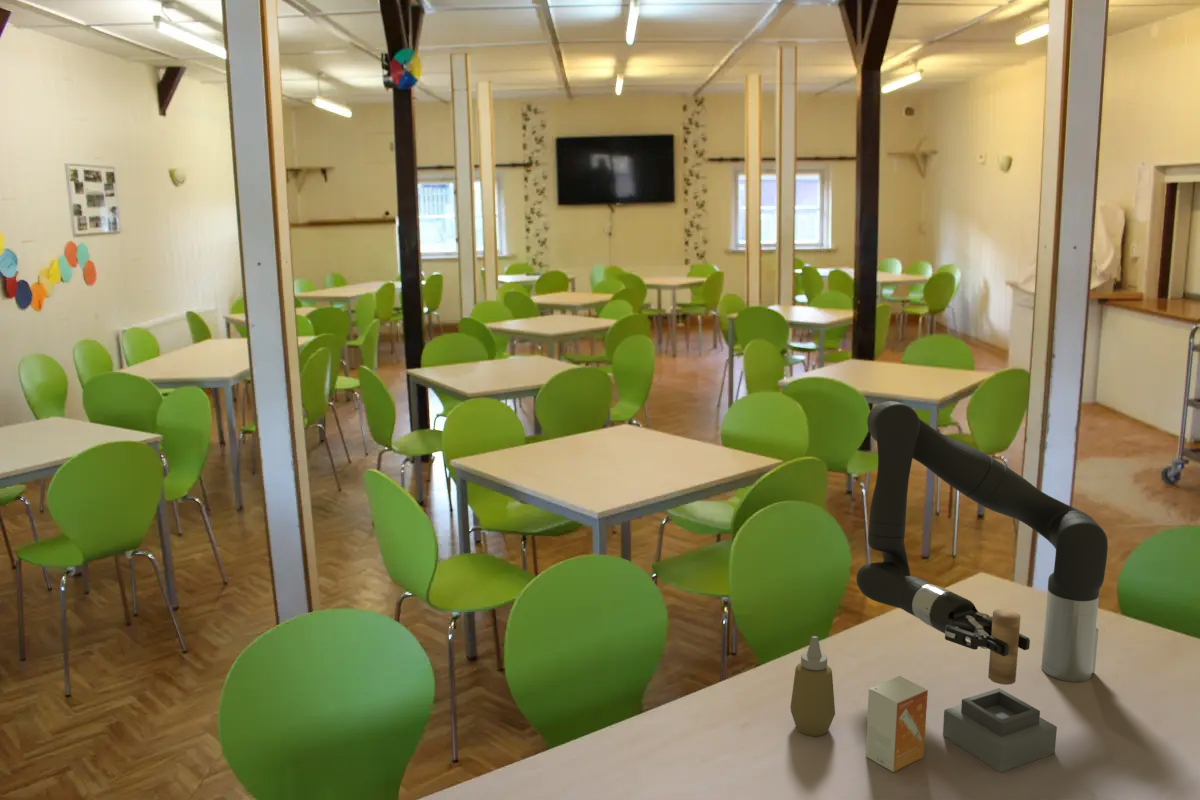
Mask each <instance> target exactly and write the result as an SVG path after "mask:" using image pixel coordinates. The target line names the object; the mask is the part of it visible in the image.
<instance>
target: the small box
mask: <svg viewBox="0 0 1200 800" xmlns="http://www.w3.org/2000/svg"><path fill="white" fill-rule="evenodd" d="M928 692H929V691H928V689H926V687H923V686H921V685H919V684H916V683H915V682H913V681H911V680H909V679H907V678H905V677H903V676H901V675H898V676H896V677H893V678H890V679H889V680H885V681H882V682H881V683H879V684H877V685H876V684H875V685H874V686H872V687H869V688H868V697H867V698H868V702H867V720H866V721H867V722H866V723H867V724H866V740H865V741H866V743H865V745H866V746H865V756H866V758H868V759H870V760H871V761H873V762H875V763H877V764H879V765H880V766H882V767H884V768H885V769H887V770H889V771H891V772H892V773H895V772H897V771H899V770H900V769H903V768H905V767H907V766H909V765H911V764H912V763H914V762H917V761H919V760H921V759H923V758H924V756H925V755H924V754H925V753H924V752H925V741H926V740H925V739H926V738H925V737H926V725H927V724H926V723H927V707H928Z"/></svg>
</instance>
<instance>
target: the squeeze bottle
mask: <svg viewBox="0 0 1200 800" xmlns="http://www.w3.org/2000/svg"><path fill="white" fill-rule="evenodd" d="M800 656H801V657H800V663H798V664H797V665H796V666H795V668H794V669H795V670H794V678H793V683H792V684H793V686H792V692H791V693H792V694H791V698H790V699H791V700H790V712H791V715H792V718H793V721H794V725H795V728H796V729H797V731H798V732H800V733H802V734H803V735H805V736H811V737H818V736H819V737H820V736H823V735H826V734H827V733H828V731H829V730H830V727H831V726H832V725H831V724H832V723H833V720H834V717H835V716H836V706H835V694H834V693H835V691H834V679H833V669H832V668H831V667H830V666H829V665H828V656H827V654H825V653H824V652H822V651H821V646H820V641H819V637H818V636H816V635H815V636H814V635H812V636H811V638H810V641H809V646H808V649H807V651H803V652H802V653H801V655H800Z"/></svg>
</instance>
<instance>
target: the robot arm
mask: <svg viewBox="0 0 1200 800" xmlns="http://www.w3.org/2000/svg"><path fill="white" fill-rule="evenodd" d="M866 420H867V421H866V424H867V430H868V432H869V434H870V436H871V437H872V438H873V440H874V441H876V444H877V445H876V447H877V474H876V479H875V480H876V481H875V485H874V490H873V493H872V497H871V502H870V509H869V519H868V520H869V521H868V530H867V531H868V533H867V534H868V536H867V541H868V542H867V543H868V546H869V547H870V548H871V549H873V550H875V551H878V552H881V555H882V559H883V561H880V562H879V561H878V562H868V563H866V564H863V565H862V566H861V567H860V568H859V570H857V573H856V584H857V587H858V589H859V591H861V593H862V594H863V595H864V596H865V597H867V598H868V599H870V600H872V601H875V602H877V603H880V604H883V605H887V606H889V607H893V608H898V609H901V610H903V611H905V612H906V613H908V614H910V615H912V616H913V617H916V618H917V619H919V620H920V621H921V622H923V623H925V624H926V625H927V626H929V627H932V628H933V629H935V630H937V631H938V632H941V633H942V634H944V640H946V641H948V642H951V643H954V644H957V645H959V646H962V647H965V648H968V649H971V650H978V647H979V648H980V649H983V650H987V649H988V650H989V651H990V650H992V651H994V652H996V653H998V654H1000V655H1002V656H1007V655H1008V650H1009V646H1008V644H1007V643H1005V642H1003V641H1001V640H999V639H997V638H995V637H993V636H991V633H992V619H993V615H992V616H990V615H989V614H987V613H983V612H979V611H978V609H977V607H976V606H975V604H974V603H973V601H971V600H969V599H968V598H965V597H963V596H961V595H959V594H957V593H955V592H952V591H951V590H949V589H947V588H944V587H942V586H940V585H939V586H938V585H935V584H933V583H931V582H929V581H927V580H925V579H922V578H920V577H917V576H914V575H913V576H912V575H911V571H910V565H909V560H908V555H907V551H906V546H905V535H906V533H905V532H906V521H907V508H908V507H907V506H908V505H907V504H908V502H907V501H908V492H909V490H908V489H909V480H910V472H911V468H912V463H913V460H914V461H917V462H919V463H920V464H921V465H923V466H924V467H926V468H927V469H928V470H929V471H931V472H932V473H933V474H934V475H936V476H937V477H938V478H940V479H941V480H942V481H943V482H945V483H946V484H947V485H949V486H950V487H952V488H953V489H954V490H956V491H957V492H958V493H960V494H962V495H964V496H966V497H967V498H969V499H970V500H972V501H973V502H975V503H977V504H979V505H980V506H982V507H984V508H986V509H988V510H990V511H993V512H996V513H999V514H1001V515H1003V516H1006V517H1010V518H1013V519H1015V520H1017V521H1019V522H1021V523H1023V524H1025V525H1026V526H1028V527H1030V528H1031V529H1032V530H1034V531H1035V532H1037V533H1038V534H1039V535H1041V536H1042V537H1044V539H1046V540H1047V541H1048V542H1049V543H1050V544H1051V545H1052V546H1053V547H1054V549H1055V558H1054V567H1053V573H1050V575H1048V582H1047V594H1046V606H1045V620H1044V631H1043V643H1042V644H1043V645H1042V653H1041V654H1042V657H1041V670H1042V671H1043V672H1044V673H1045V674H1046V675H1048V676H1050V677H1053V678H1056V679H1058V680H1062V681H1066V682H1071V683H1072V682H1075V683H1077V682H1079V683H1080V682H1085V681H1089V680H1090V679H1091V678H1092V675H1093V674H1094V673H1095V672H1096V661H1097V650H1098V640H1099V628H1097V621H1098V610H1099V600H1100V599H1099V597H1100V589H1101V588H1102V587H1103V584H1104V579H1105V575H1106V569H1107V568H1106V567H1107V566H1106V565H1107V560H1108V559H1107V558H1108V551H1109V550H1108V549H1109V547H1108V546H1109V544H1108V543H1109V541H1108V537H1107V534H1106V532H1105V531H1104V529H1103V528H1102V527H1101V526H1100V524H1099V523H1097V521H1096V520H1094V518H1092V516H1090V515H1089V514H1087V513H1085V512H1084V511H1082V510H1080V509H1078V508H1076V507H1073V506H1071V505H1069V504H1067V503H1064V502H1062V501H1060V500H1059V499H1056V498H1054V497H1052V496H1051V495H1048V494H1047V493H1045V492H1044V491H1041V490H1040V489H1038V488H1037V487H1036V486H1034V485H1033V484H1032V483H1031V482H1030V481H1028V480H1027V479H1026V478H1024V477H1023V476H1022V475H1020V474H1019V473H1017V472H1015V471H1014V470H1012V469H1011V468H1010V467H1008V466H1007V465H1005V464H1003V463H1002V462H1000V461H998V460H997V459H995V458H993V457H992V456H991V455H988V454H986V453H985V452H983V451H981V450H979V449H978V448H975V447H972V446H971V445H969V444H966V443H964V442H962V441H960V440H958V439H954V438H953V437H949V436H948V435H946V434H943V433H941V432H939V431H938V430H936V429H935V428H933V427H932V426H930V425H929V424H928V423H926V422H925V421H923V420H922V419H921V418H920V417H919V415H918V413H917V412H916V410H915V409H914V408H913V407H912V406H910V405H908V404H906V403H902V402H899V401H893V400H889V401H888V400H887V401H883V402H881V403H879V404H877V405H875V406H874V407H873V408H872V409H870V411H869V413H868V415H867V419H866ZM967 640H968V641H967ZM1030 643H1031V639H1030V638H1029V637H1027V636H1026V635H1024V634H1022V633H1020V632H1019V643H1018V649H1021V650H1023V651H1028V650H1030Z"/></svg>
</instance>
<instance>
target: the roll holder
mask: <svg viewBox="0 0 1200 800" xmlns="http://www.w3.org/2000/svg"><path fill="white" fill-rule="evenodd" d="M943 712H944V713H943V723H942V724H943V725H942V726H943V727H942V729H943V730H942V736H943V737H945V738H947V740H950V741H951V742H953V743H954V744H956V745H957V746H959V747H960V748H961V749H963V750H965V751H966V752H968V753H969V754H971V755H973V756H974V757H976V758H977V759H978V760H980V761H982V762H984V763H985V764H986V765H988V766H989V767H991V768H992V769H994V770H996V771H997V772H998V773H1003V772H1005V771H1008V770H1012V769H1014V768H1017V767H1020V766H1023V765H1025V764H1027V763H1030V762H1033V761H1036V760H1039V759H1042V758H1044V757H1048V756H1050V755H1053V754H1055V753H1056V743H1057V732H1058V727H1057V726H1056V725H1054V723H1051V722H1049V721H1047V720H1046V719H1044V718H1042V717H1041V710H1039V709H1037V708H1036V707H1034V706H1032V705H1031V704H1029V703H1027V702H1025V701H1023V700H1022V699H1020V698H1018V697H1016V696H1014V695H1012V694H1010V693H1009V692H1007V691H1005V690H1003V689H1002V688H999V687H998V688H996V689H995V688H994V689H991V690H988V691H985V692H983V693H982V692H981V693H979V694H975V695H972V696H969V697H966V698H962V699H961V704H958V705H955V706H953V707H948V708H946V709H944V711H943Z"/></svg>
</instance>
